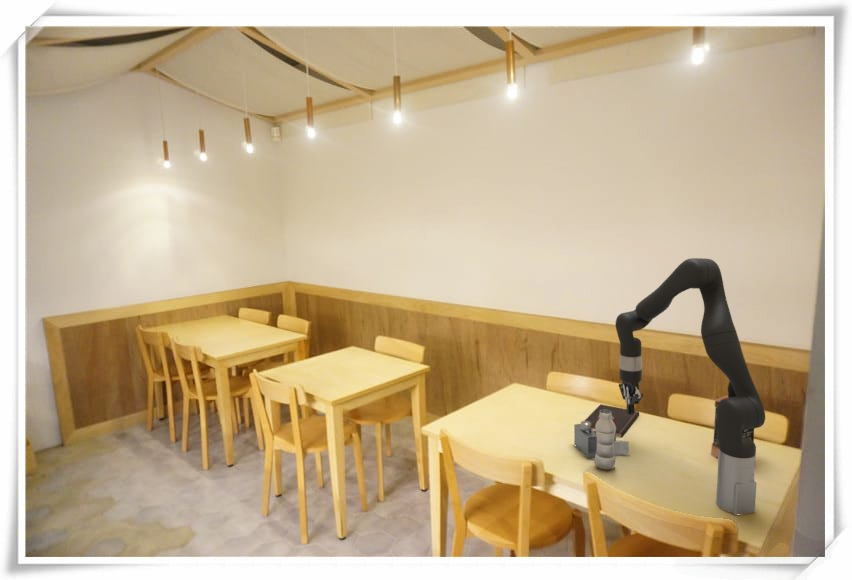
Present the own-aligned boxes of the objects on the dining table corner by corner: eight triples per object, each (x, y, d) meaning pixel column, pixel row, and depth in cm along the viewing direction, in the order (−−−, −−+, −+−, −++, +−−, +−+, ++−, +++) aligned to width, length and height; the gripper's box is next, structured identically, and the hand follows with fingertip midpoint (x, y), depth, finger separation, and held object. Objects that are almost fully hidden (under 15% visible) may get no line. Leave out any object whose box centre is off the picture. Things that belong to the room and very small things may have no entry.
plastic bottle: (599, 460, 191) (599, 406, 187) (618, 466, 186) (619, 410, 183) (591, 468, 186) (591, 412, 182) (611, 474, 181) (611, 417, 178)
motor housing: (610, 438, 207) (610, 411, 205) (629, 455, 193) (630, 426, 191) (572, 443, 204) (572, 415, 202) (589, 461, 191) (589, 431, 189)
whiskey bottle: (708, 453, 191) (712, 365, 185) (730, 447, 195) (734, 361, 189) (734, 467, 182) (739, 374, 176) (756, 460, 185) (762, 369, 179)
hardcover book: (580, 429, 216) (580, 424, 216) (600, 409, 234) (600, 404, 234) (622, 438, 207) (622, 433, 206) (639, 416, 225) (639, 411, 225)
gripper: (650, 371, 189) (650, 419, 192) (630, 360, 202) (630, 405, 205) (630, 373, 188) (630, 421, 191) (611, 362, 201) (611, 408, 204)
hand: (630, 413), depth 198 cm, fingers closed
